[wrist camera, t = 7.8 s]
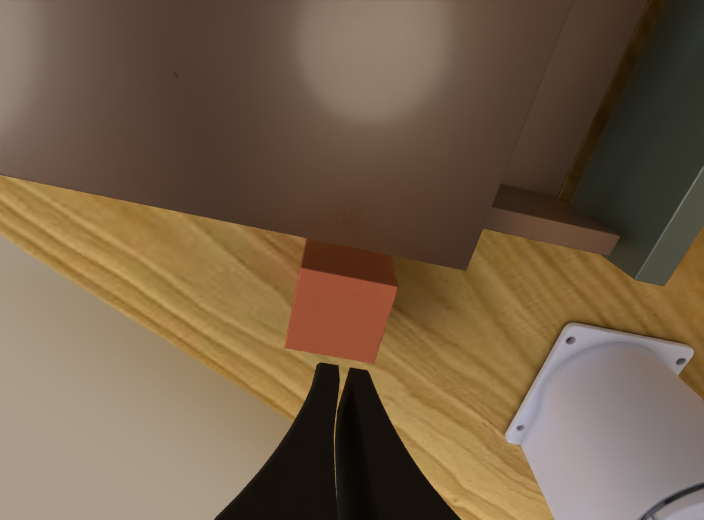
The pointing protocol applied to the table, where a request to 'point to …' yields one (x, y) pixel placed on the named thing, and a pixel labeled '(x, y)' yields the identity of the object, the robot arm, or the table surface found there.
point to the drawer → (615, 142)
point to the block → (341, 301)
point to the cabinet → (280, 110)
